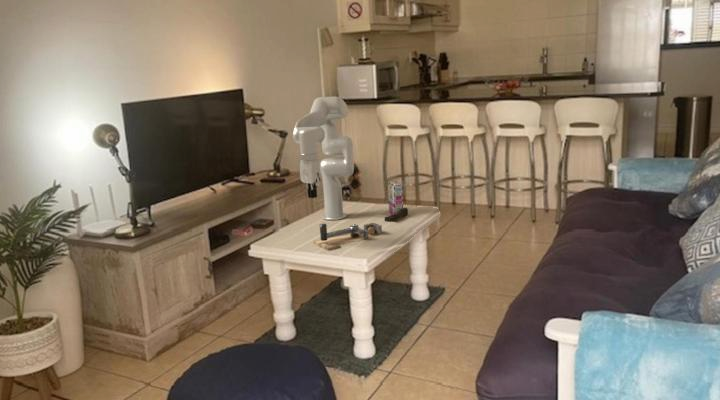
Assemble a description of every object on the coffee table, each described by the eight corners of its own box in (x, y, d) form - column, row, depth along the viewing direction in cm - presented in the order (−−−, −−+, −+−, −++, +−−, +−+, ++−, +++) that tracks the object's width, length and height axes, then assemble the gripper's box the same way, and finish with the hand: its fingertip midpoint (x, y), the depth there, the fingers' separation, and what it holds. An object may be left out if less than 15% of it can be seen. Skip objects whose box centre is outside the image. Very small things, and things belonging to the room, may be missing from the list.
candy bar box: (404, 215, 307) (402, 184, 303) (395, 216, 305) (393, 185, 302) (397, 210, 317) (396, 180, 313) (388, 211, 316) (387, 181, 312)
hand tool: (390, 224, 292) (390, 215, 291) (384, 223, 294) (383, 214, 293) (412, 215, 306) (412, 207, 305) (406, 215, 309) (405, 206, 308)
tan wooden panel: (313, 243, 268) (313, 232, 267) (369, 230, 283) (368, 220, 282) (327, 250, 257) (326, 239, 256) (384, 236, 273) (383, 225, 271)
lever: (319, 242, 264) (317, 224, 262) (357, 233, 274) (356, 215, 273) (329, 247, 256) (328, 228, 254) (368, 238, 266) (367, 220, 264)
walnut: (366, 234, 273) (365, 226, 273) (372, 232, 275) (372, 225, 274) (370, 236, 270) (369, 228, 270) (376, 234, 272) (376, 226, 271)
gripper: (292, 156, 265) (295, 196, 269) (313, 159, 253) (316, 201, 257) (306, 154, 269) (309, 193, 274) (326, 157, 258) (329, 198, 262)
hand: (312, 197), depth 266 cm, fingers closed
